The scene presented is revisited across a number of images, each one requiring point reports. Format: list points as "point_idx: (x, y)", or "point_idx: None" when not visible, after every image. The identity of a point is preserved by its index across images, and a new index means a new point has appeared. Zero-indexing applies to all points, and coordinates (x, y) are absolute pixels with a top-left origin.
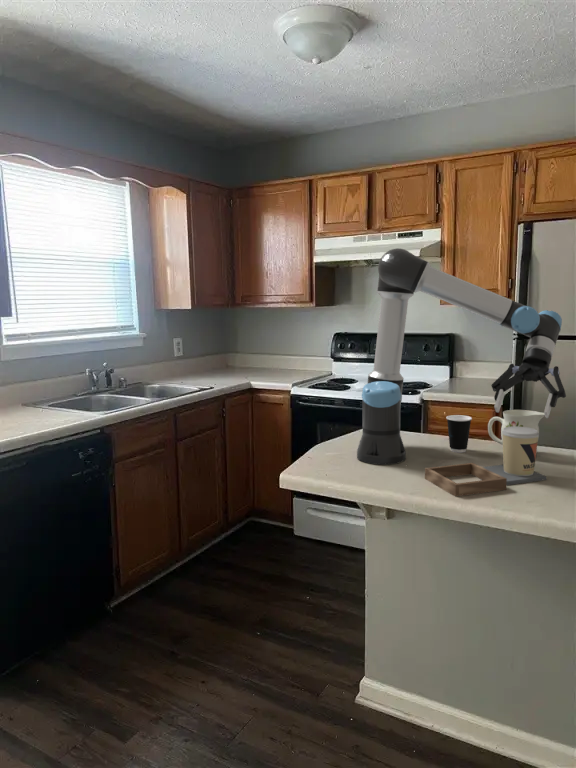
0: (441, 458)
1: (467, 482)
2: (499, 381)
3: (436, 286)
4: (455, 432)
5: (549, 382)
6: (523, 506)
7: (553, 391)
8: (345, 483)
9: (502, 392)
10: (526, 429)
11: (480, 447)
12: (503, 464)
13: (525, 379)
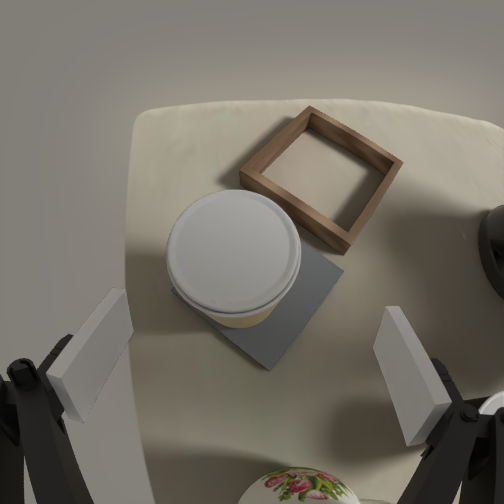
0: (444, 330)
1: (298, 121)
2: (497, 458)
3: None
4: (472, 399)
5: (32, 473)
6: (196, 130)
7: (29, 371)
8: (450, 119)
9: (422, 402)
10: (213, 275)
11: (397, 490)
12: (293, 340)
13: None
